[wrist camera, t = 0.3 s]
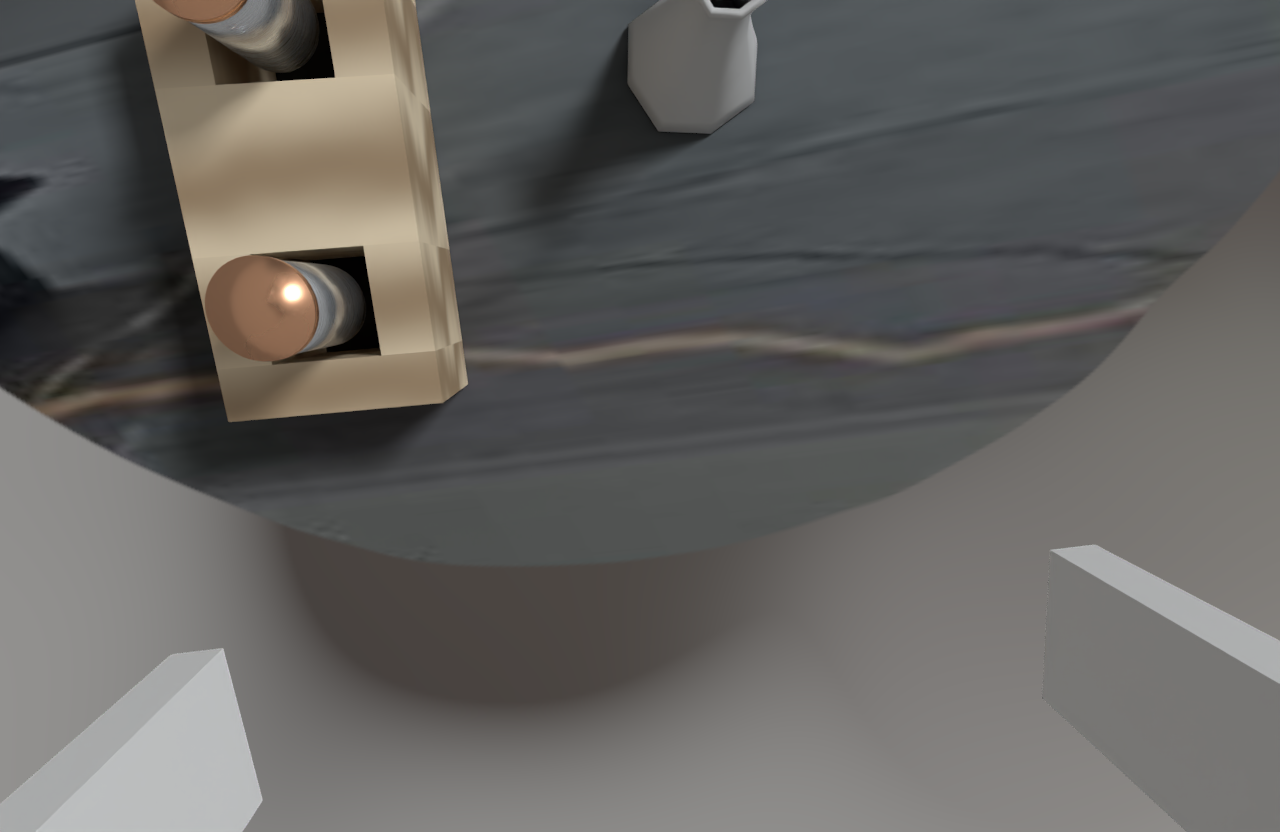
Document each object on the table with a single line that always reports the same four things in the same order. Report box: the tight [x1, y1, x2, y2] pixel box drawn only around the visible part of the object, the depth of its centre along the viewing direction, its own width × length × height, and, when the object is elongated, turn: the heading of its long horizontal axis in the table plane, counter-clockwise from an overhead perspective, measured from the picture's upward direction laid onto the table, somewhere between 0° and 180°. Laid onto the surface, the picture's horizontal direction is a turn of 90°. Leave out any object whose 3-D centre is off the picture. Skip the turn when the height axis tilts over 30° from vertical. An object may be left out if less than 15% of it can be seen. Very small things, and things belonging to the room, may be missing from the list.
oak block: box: [135, 0, 468, 422], centre depth 30 cm, size 22×10×6 cm, turn 5°
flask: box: [627, 0, 767, 134], centre depth 28 cm, size 7×7×10 cm
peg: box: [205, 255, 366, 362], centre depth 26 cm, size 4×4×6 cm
